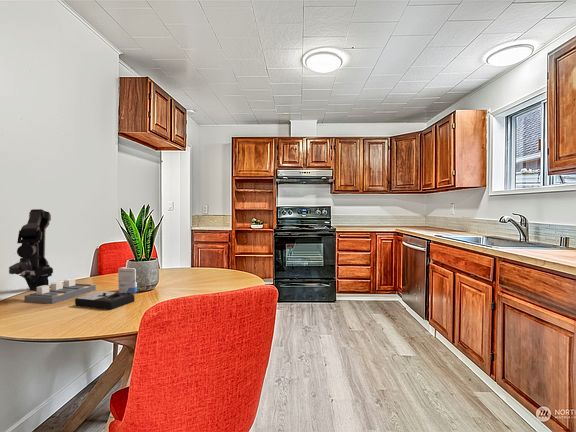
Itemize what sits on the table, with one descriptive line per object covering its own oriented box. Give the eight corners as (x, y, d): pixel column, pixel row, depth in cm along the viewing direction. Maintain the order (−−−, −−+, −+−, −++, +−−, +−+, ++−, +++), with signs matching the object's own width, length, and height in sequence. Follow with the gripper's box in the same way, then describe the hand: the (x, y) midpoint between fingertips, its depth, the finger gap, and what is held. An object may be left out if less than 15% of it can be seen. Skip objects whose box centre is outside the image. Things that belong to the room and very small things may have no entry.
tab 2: (50, 289, 160) (50, 283, 160) (57, 288, 163) (57, 281, 163) (56, 290, 159) (56, 283, 159) (62, 288, 163) (62, 282, 163)
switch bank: (24, 301, 151) (24, 294, 151) (70, 288, 174) (70, 282, 174) (52, 303, 147) (52, 296, 147) (95, 290, 171) (95, 284, 170)
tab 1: (36, 293, 153) (36, 286, 153) (44, 291, 157) (44, 285, 156) (42, 294, 152) (41, 287, 152) (49, 292, 156) (49, 285, 156)
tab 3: (63, 286, 167) (63, 280, 167) (70, 284, 170) (70, 278, 170) (69, 286, 166) (68, 280, 166) (75, 285, 169) (75, 279, 169)
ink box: (140, 290, 169) (140, 266, 169) (134, 293, 164) (134, 268, 164) (124, 290, 170) (123, 266, 170) (118, 292, 165) (117, 268, 165)
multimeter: (111, 311, 138) (110, 298, 137) (74, 307, 143) (74, 295, 143) (135, 302, 150) (134, 291, 150) (100, 298, 156) (100, 288, 156)
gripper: (-5, 257, 150) (-4, 292, 150) (30, 258, 146) (31, 294, 146) (21, 253, 161) (22, 286, 161) (53, 254, 156) (54, 288, 157)
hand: (31, 289), depth 156 cm, fingers closed
